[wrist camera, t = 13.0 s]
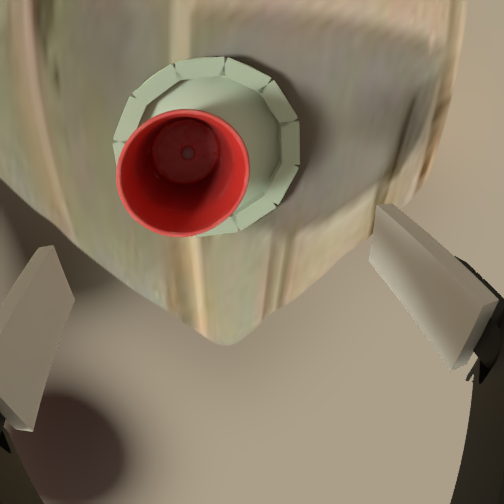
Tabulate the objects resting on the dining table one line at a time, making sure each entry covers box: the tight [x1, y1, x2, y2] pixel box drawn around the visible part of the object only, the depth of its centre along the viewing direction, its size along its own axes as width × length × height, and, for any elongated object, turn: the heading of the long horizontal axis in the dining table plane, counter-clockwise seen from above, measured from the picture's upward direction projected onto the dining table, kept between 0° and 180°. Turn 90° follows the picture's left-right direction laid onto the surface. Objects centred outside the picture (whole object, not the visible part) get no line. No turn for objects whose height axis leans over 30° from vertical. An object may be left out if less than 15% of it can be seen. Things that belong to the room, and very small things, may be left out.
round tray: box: [113, 57, 300, 237], centre depth 33 cm, size 20×20×2 cm
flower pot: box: [116, 109, 250, 237], centre depth 29 cm, size 11×11×10 cm
